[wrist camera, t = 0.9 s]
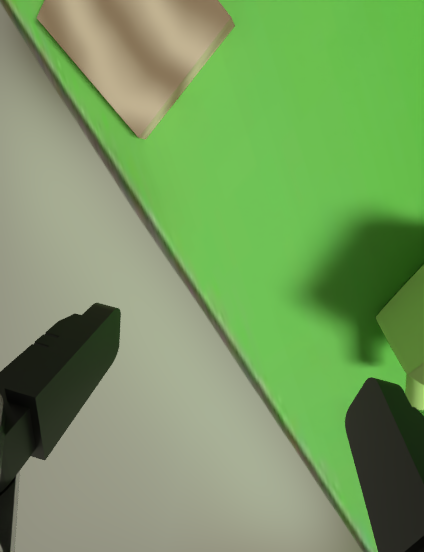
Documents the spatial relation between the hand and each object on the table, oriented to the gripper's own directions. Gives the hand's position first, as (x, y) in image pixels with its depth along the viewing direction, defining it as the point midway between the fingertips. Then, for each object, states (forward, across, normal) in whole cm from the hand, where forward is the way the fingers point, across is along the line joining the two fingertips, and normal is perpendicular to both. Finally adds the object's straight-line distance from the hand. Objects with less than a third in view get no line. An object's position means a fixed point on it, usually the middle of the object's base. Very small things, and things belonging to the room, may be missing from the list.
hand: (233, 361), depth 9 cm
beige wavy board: (+26, +16, -14) cm, 33 cm away
